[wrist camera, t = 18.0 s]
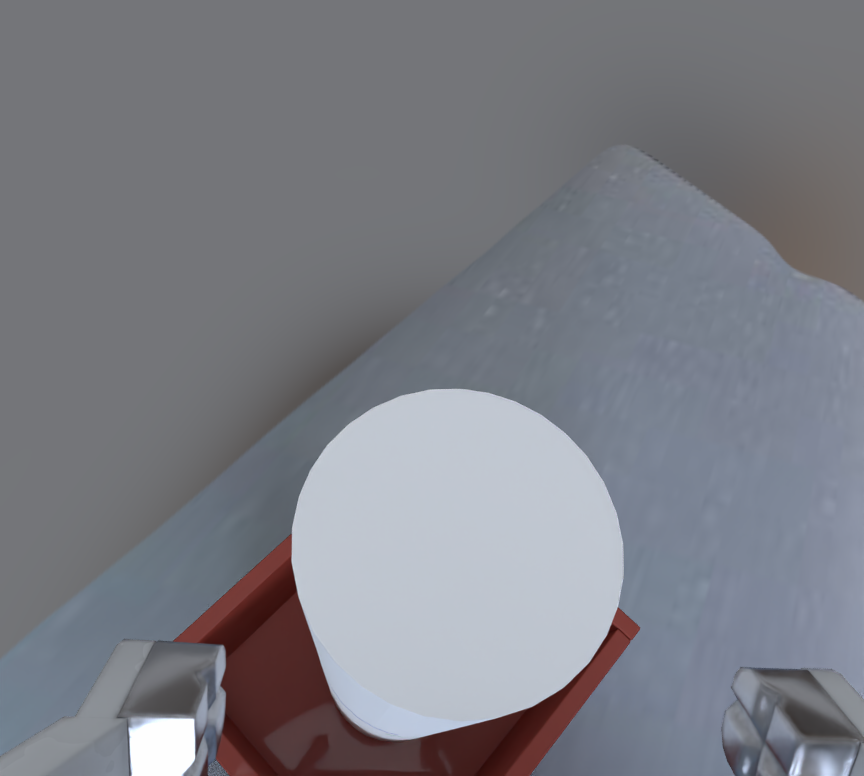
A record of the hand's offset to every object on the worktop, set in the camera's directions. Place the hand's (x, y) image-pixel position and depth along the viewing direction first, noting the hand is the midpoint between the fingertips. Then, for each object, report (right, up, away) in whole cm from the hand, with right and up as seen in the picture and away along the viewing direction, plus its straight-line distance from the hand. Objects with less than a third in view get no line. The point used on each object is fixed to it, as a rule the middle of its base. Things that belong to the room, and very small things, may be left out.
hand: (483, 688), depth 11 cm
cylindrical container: (-3, -10, +26) cm, 28 cm away
